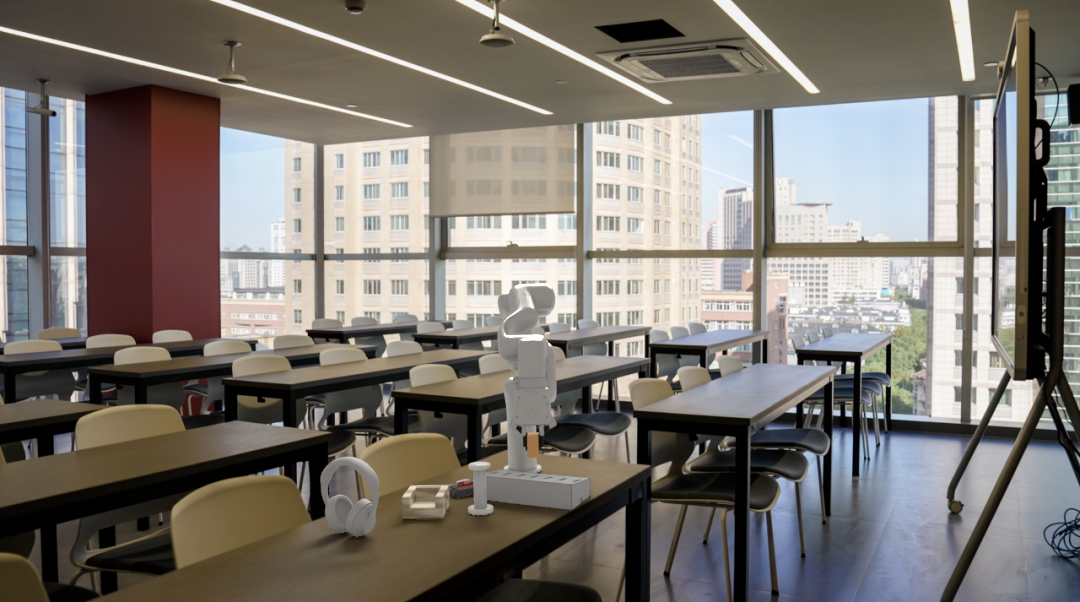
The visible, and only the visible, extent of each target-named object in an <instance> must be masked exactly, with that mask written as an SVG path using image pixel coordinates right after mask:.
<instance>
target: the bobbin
mask: <svg viewBox="0 0 1080 602" xmlns="http://www.w3.org/2000/svg"><path fill="white" fill-rule="evenodd" d="M489 469H491V463H490V462H488V461H474V462H470V463H469V464H468V470H470V471H472V478H473V480H472V481H473V486H474V495H473V504H471V505H469V506H468V507H467V513H468V515H470V514H472V515H471V516H475V515H478V517H479V515H483V516H488V514H489V515H491V514H493V513H494V506H493V504H490V503H488V500H487V481H486V473H487V470H489Z"/></svg>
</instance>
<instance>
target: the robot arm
mask: <svg viewBox="0 0 1080 602" xmlns="http://www.w3.org/2000/svg"><path fill="white" fill-rule="evenodd" d="M555 306H556V294H555V291H554V288H553V287H552V286H551V285H550V284H548V283H522V284H516V285H514V286H513V287H511V288H510V290H509V291H504V292H501V293H500V294H499V295H498V297H497V308H498V312H499V315H500V318H501V320H502V322H501V324H500V326H499V327H498V330H497V348H498V350H497V351H498V355H499V357H500V359H501V360H502V361H504V362H506V363H507V366H508V369H509V370H511V371H512V372H517V375H514V376H510V377H508V378H506V380H505V381H504V383H503V396H504V401H505V407H506V408H505V409H506V426H507V427H506V429H507V465H505V466H503V470H507V471H518V472H529V473H540V472H542V471H543V470H542V465H540V463H539V464H538V461H537V460H538V458H528V453H527V435H528V433H534V432H537V426H538V430H539V436H538V443H539V451H542V447H544V443H545V442H544V435H545V434H546V433H547V432H548V431H549V430H550V429H553V428H554V427H556V426H557V421H556V419H555V418H554V416H553V414H552V405H551V403H554V402H555V400H556V399H557V369H556V368H557V365H556V352H555V349H554V346H553V345H552V344H551V343H550V342H549V341H548V339H547V338H546V337H545V336H544V335H542V334H533V331H532V330H533V329H534V328H535V327H536V326H537V325H538V323H539V320H540V318H539V317H548V316H549V315H550V314H551V313H552V311H553V310H554V309H555Z"/></svg>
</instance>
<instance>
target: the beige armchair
mask: <svg viewBox="0 0 1080 602" xmlns="http://www.w3.org/2000/svg"><path fill="white" fill-rule="evenodd" d="M449 485H450V484H416V485H415V484H410V485H409V487H408V489H407V490H406V491H405V492H404V494H403V495H402V497H401V515H402V516H401V517H419V518H420V517H421V518H422V517H423V518H443V517H444V518H445V516H446V514H447V512H448V510H449V508H450V506H451V505H450V504H451V503H450V502H451V496H450V495H451V494H449ZM449 505H450V506H449ZM448 507H449V508H448ZM447 509H448V510H447ZM446 511H447V512H446ZM445 513H446V514H445ZM444 515H445V516H444ZM444 518H443V519H444Z"/></svg>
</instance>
